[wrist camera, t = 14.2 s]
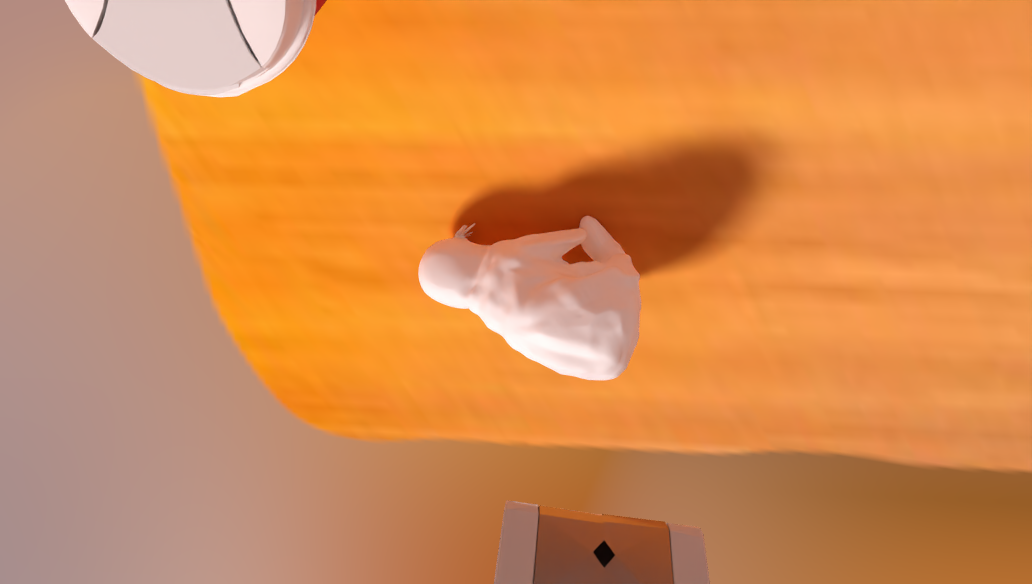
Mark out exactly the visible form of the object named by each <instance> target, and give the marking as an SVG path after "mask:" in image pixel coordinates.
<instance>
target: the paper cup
mask: <svg viewBox="0 0 1032 584" xmlns="http://www.w3.org/2000/svg"><path fill="white" fill-rule="evenodd" d="M65 2H66V3H67V5H68V7H69V8H70V10H71V12H72V14H73V15H74V16H75V18H76V19H77V21H78V22H79V23H80V25H81V26H82V27H83V29H84V30H85V31H86V32H87V33H88V35H89V36H90V37H91V38H93V39H94V40H95V41H96V42H97V43H98V44H100V45H101V46H102V47H103V48H104V49H106V50H107V51H108V52H109V53H110V54H111V55H113V56H114V57H115V58H117V59H118V60H119V61H121V62H122V63H124V64H125V65H126V66H127V67H129V68H130V69H132V70H133V71H135V72H137V73H139V74H141V75H142V76H144V77H146V78H148V79H151V80H153V81H155V82H157V83H159V84H161V85H162V86H164V87H166V88H169V89H171V90H174V91H178V92H182V93H187V94H194V95H202V96H213V97H231V96H239V95H241V94H243V93H245V92H247V91H249V90H251V89H253V88H255V87H257V86H260V85H262V84H264V83H267V82H269V81H270V80H272V79H273V78H275V77H276V76H278V75H279V74H281V73H282V72H283V71H284V70H285V69H286V68H287V67H288V66H289V65H290V64H291V63H292V62H293V61H294V60H295V59H296V57H297V56H298V54H299V53H300V51H301V50H302V48H303V47H304V45H305V43H306V40H307V38H308V36H309V33H310V31H311V28H312V24H313V20H314V16H315V15H316V14H317V12H318V11H319V10H320V8H321V7H322V6H323V4H324V3H325V2H326V0H65Z"/></svg>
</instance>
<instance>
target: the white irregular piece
mask: <svg viewBox="0 0 1032 584" xmlns="http://www.w3.org/2000/svg"><path fill="white" fill-rule="evenodd" d="M469 224H470V223H469ZM474 224H475V223H474ZM474 224H473V225H471V226H470V227H468V228H467V229H466V230H465V231H464V229H465V228H466V227H467V225H466V226H465V225H464V226H465V227H464V226H462V227H461V228H460V229H459V230H458V231H457V232H456V234H455V237H453V238H448V239H444V240H441V241H438V242H436V243H434V244H433V245H432V246H430V247H429V248H428V249H427V250H426V252H425V254H424V256H423V257H422V259H421V261H420V265H419V281H420V284H421V287H422V289H423V290H424V292H425V293H426V294H427V295H428V296H430V297H431V298H432V299H434V300H436V301H438V302H440V303H442V304H445V305H448V306H451V307H456V308H464V309H467V308H469V309H470V310H471V311H472V312H474V313H475V314H477V315H479V317H480V318H481V319H482V320H483V321H484V323H485V324H486V326H487V327H488V328H489V329H491V330H492V331H495V332H497V333H499V334H500V335H501V336H503V337H504V339H505V340H506V341H507V342H508V344H509V345H510V346H511V347H512V348H513V349H515V350H517V351H519V352H521V353H522V354H523V355H524V356H526V357H527V358H529V359H531V360H534V361H536V362H538V363H540V364H542V365H544V366H546V367H548V368H550V369H552V370H554V371H556V372H558V373H560V374H563V375H571V376H575V377H579V378H583V379H588V380H609V379H614V378H616V377H618V376H619V375H620V374H621V373H622V372H623V371H624V370H625V369H626V368H627V366H628V363H629V361H630V358H631V356H632V354H633V351H634V349H635V347H636V344H637V341H638V338H639V317H640V310H641V297H640V290H639V279H640V275H639V273H638V272H637V271H636V269H635V268H634V266H633V264H632V260H631V257H630V256H629V255H627V254H625V252H624V250H623V249H622V247H621V246H620V244H619V243H618V242H616V241H615V240H614V239H613V238H612V236H611V235H610V234H609V233H608V232H607V231H606V230H605V228H604V227H603V226H602V225H601V224H600V223H599V222H598V221H597V220H596V219H595V218H593V217H591V216H585V217H583V218H582V219H581V221H580V225H579V228H578V229H570V230H561V231H554V232H548V233H541V234H531V235H526V236H523V237H520V238H517V239H513V240H503V241H499V242H496V243H494V244H492V245H479V244H476V243H473V242H471V241H468V240H467V238H465V237H466V235H465V236H464V234H466V232H468V231H469V230H470V229H471V228H472V227H473V226H474ZM463 227H464V228H463ZM469 234H471V232H470V233H469ZM469 234H468V233H467V235H469ZM470 236H472V235H470ZM579 244H581V245H582V248H583V250H584V251H585V252H586V253H587V254H588V255H589V256H590V257H591V258H592V259H593V261H592V262H578V263H574V264H569V263H568V262H566V261H564V260H563V259H562V256H563V255H564V254H565V253H567V252H568V251H570V250H571V249H573V248H574V247H575V246H577V245H579Z"/></svg>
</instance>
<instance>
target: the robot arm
mask: <svg viewBox="0 0 1032 584" xmlns="http://www.w3.org/2000/svg"><path fill="white" fill-rule="evenodd" d="M494 584H710V581H709V574H708V567H707V559H706V550H705V543H704V535H703V533H702V531H701V529H700V528H699V527H694V526H685V525H678V524H669V523H665V522H663V521H655V520H646V519H638V518H630V517H622V516H614V515H606V514H605V515H604V514H602V515H597V514H591V513H585V512H578V511H572V510H566V509H560V508H553V507H547V506H541V505H540V506H539V507H538V505H536V504H529V503H521V502H514V501H506V505H505V510H504V517H503V524H502V531H501V538H500V545H499V552H498V560H497V567H496V573H495V581H494Z"/></svg>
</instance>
